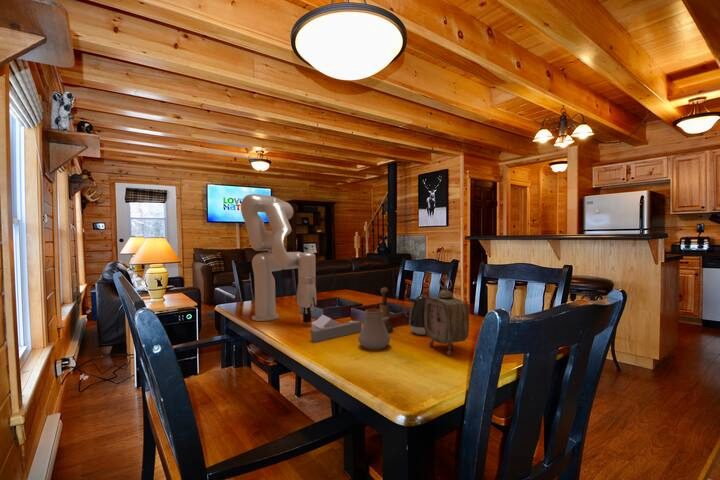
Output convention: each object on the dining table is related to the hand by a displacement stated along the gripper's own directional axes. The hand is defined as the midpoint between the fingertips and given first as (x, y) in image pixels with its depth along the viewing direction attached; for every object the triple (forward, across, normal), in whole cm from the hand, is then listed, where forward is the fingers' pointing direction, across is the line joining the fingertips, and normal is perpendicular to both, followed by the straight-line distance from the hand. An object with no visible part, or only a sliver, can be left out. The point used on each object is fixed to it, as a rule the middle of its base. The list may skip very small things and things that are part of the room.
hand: (307, 321), depth 155 cm
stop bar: (+1, +23, 0) cm, 23 cm away
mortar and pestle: (+1, +30, +19) cm, 36 cm away
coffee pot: (+1, +47, +3) cm, 47 cm away
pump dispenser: (+1, +42, +28) cm, 50 cm away
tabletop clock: (+1, +61, +20) cm, 64 cm away
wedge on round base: (+1, +14, 0) cm, 14 cm away
